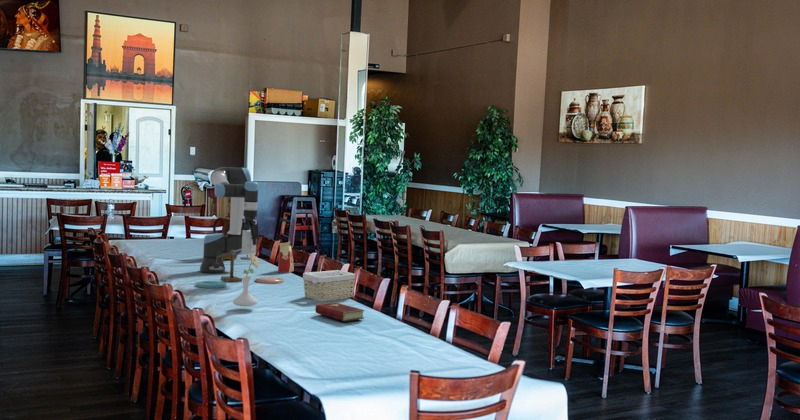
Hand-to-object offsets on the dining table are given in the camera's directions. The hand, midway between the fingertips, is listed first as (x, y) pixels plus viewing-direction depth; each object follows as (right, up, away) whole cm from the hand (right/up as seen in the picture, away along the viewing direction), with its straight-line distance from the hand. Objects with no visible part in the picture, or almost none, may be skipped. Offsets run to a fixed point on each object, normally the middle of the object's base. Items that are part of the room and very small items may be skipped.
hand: (248, 249), depth 401 cm
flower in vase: (+12, -23, -61) cm, 66 cm away
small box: (0, -3, 0) cm, 3 cm away
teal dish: (-18, -19, -11) cm, 29 cm away
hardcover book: (+57, -26, -71) cm, 95 cm away
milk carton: (+12, -17, +50) cm, 55 cm away
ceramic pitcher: (-38, -13, +95) cm, 103 cm away
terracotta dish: (+9, -19, +14) cm, 25 cm away
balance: (-12, -18, +11) cm, 24 cm away
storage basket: (+47, -26, -25) cm, 59 cm away
